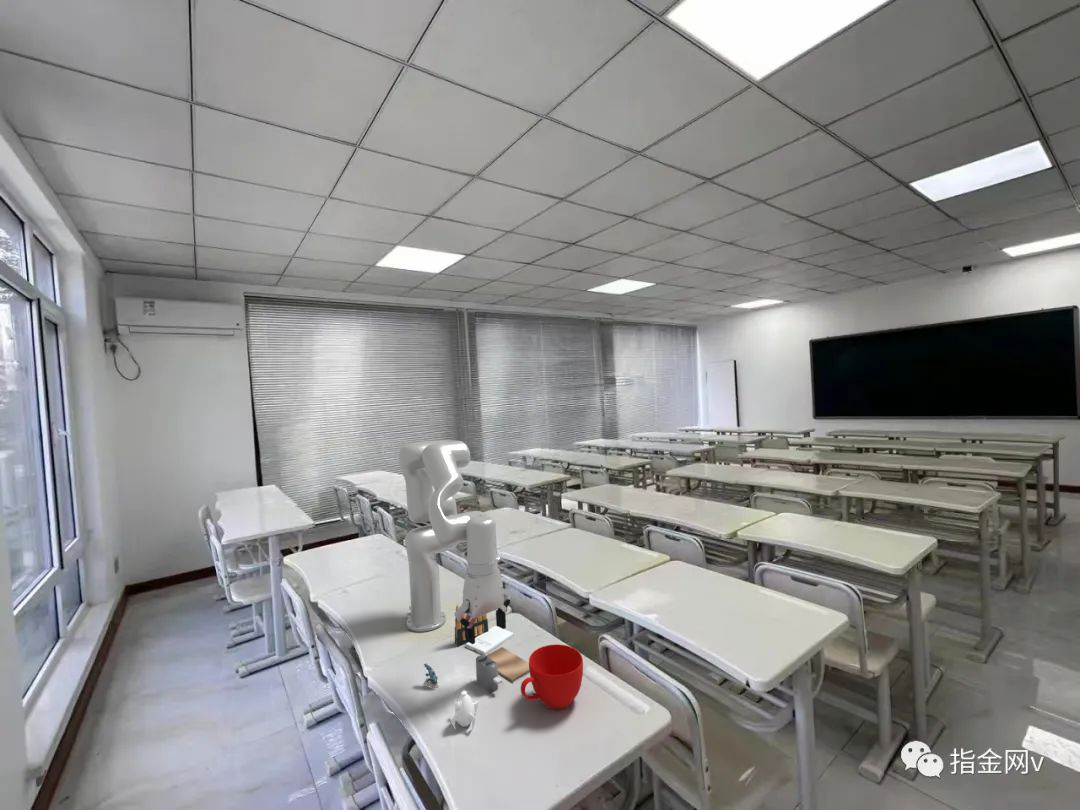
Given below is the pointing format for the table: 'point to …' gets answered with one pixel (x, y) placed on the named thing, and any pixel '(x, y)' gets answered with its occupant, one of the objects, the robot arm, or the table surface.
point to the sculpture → (431, 677)
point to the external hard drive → (490, 640)
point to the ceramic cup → (554, 675)
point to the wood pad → (509, 664)
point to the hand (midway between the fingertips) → (486, 634)
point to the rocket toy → (464, 711)
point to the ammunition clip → (479, 626)
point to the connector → (487, 673)
